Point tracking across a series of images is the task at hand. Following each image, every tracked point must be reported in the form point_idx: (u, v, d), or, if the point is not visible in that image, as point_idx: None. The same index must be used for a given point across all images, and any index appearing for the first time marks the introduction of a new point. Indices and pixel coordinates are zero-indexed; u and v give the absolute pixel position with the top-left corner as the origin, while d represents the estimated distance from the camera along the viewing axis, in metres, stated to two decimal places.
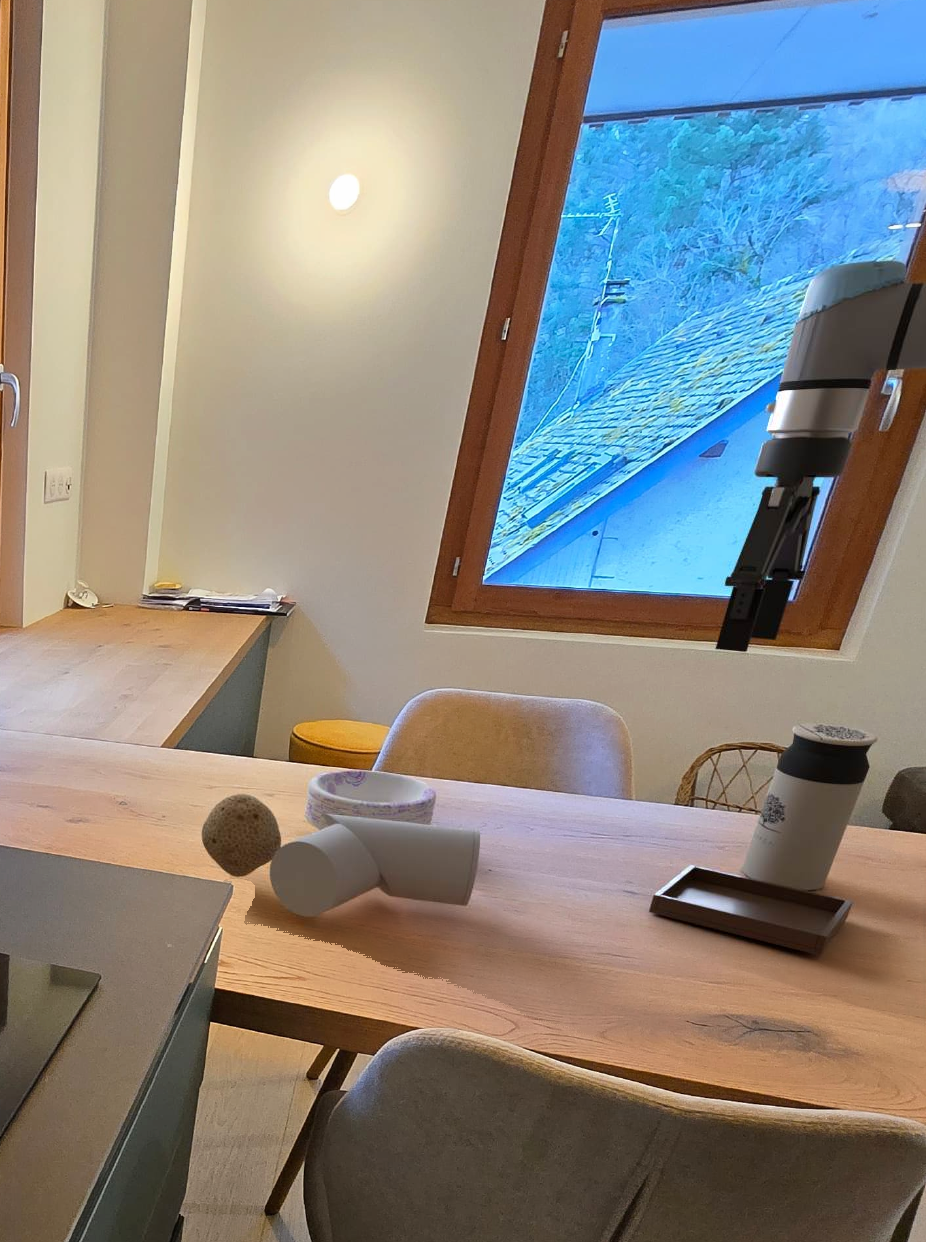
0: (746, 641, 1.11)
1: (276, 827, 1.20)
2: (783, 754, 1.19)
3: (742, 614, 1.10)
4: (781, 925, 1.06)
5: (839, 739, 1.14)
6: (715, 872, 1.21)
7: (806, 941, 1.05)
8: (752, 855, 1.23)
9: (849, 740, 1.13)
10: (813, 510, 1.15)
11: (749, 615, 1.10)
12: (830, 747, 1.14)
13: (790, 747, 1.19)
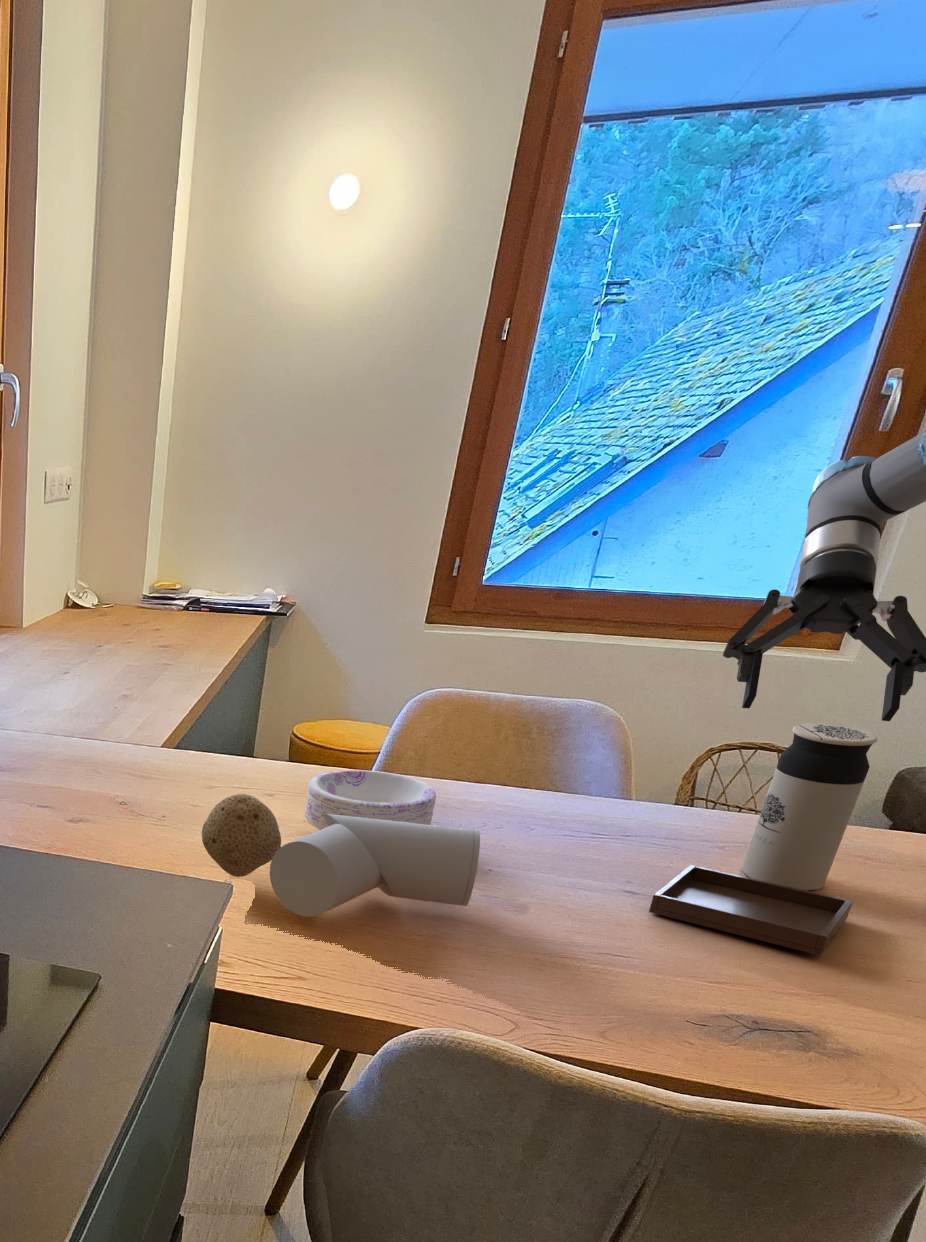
0: (749, 688, 1.28)
1: (276, 827, 1.20)
2: (783, 754, 1.19)
3: (739, 673, 1.30)
4: (781, 925, 1.06)
5: (839, 739, 1.14)
6: (715, 872, 1.21)
7: (806, 941, 1.05)
8: (752, 855, 1.23)
9: (849, 740, 1.13)
10: (908, 612, 1.25)
11: (751, 672, 1.29)
12: (830, 747, 1.14)
13: (790, 747, 1.19)
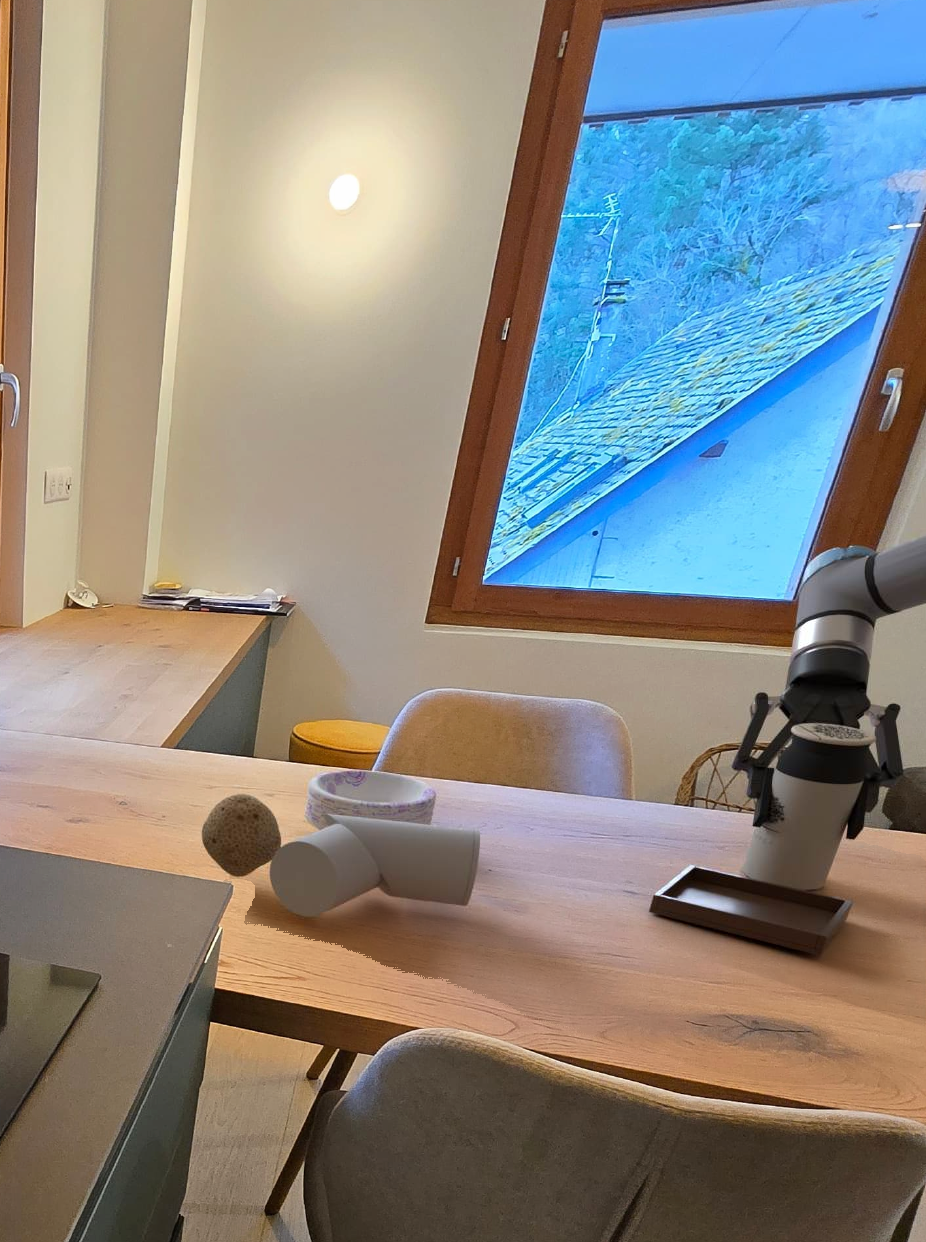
0: (760, 807, 1.20)
1: (276, 827, 1.20)
2: (782, 754, 1.19)
3: (749, 789, 1.22)
4: (781, 925, 1.06)
5: (838, 739, 1.14)
6: (715, 872, 1.21)
7: (806, 941, 1.05)
8: (752, 855, 1.23)
9: (848, 740, 1.13)
10: (895, 722, 1.19)
11: (761, 789, 1.21)
12: (829, 747, 1.14)
13: (789, 747, 1.19)
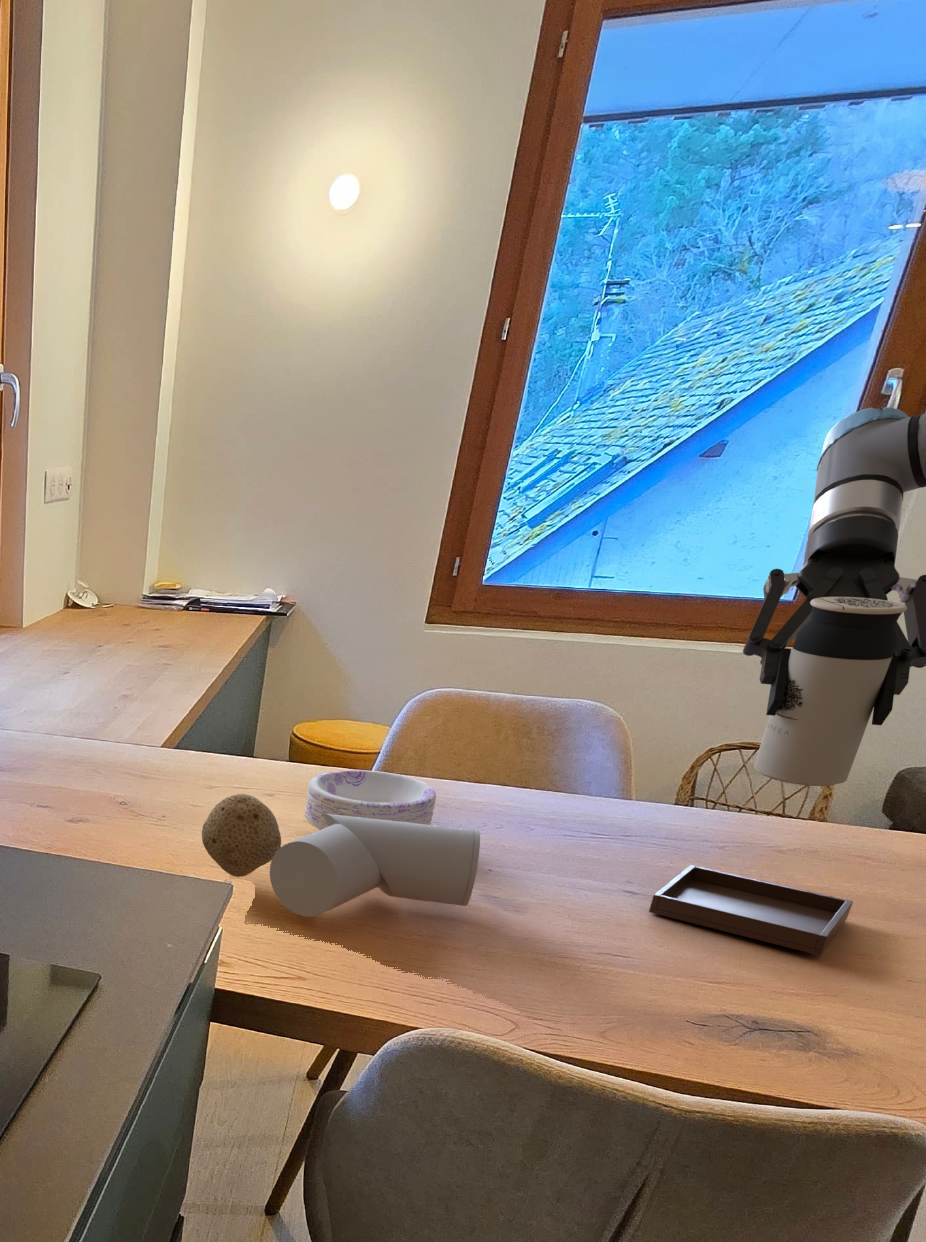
0: (775, 691, 1.07)
1: (276, 827, 1.20)
2: (800, 631, 1.06)
3: (762, 673, 1.09)
4: (781, 925, 1.06)
5: (864, 607, 1.01)
6: (715, 872, 1.21)
7: (806, 941, 1.05)
8: (765, 748, 1.10)
9: (875, 608, 1.00)
10: None
11: (777, 673, 1.08)
12: (853, 617, 1.01)
13: (808, 623, 1.06)
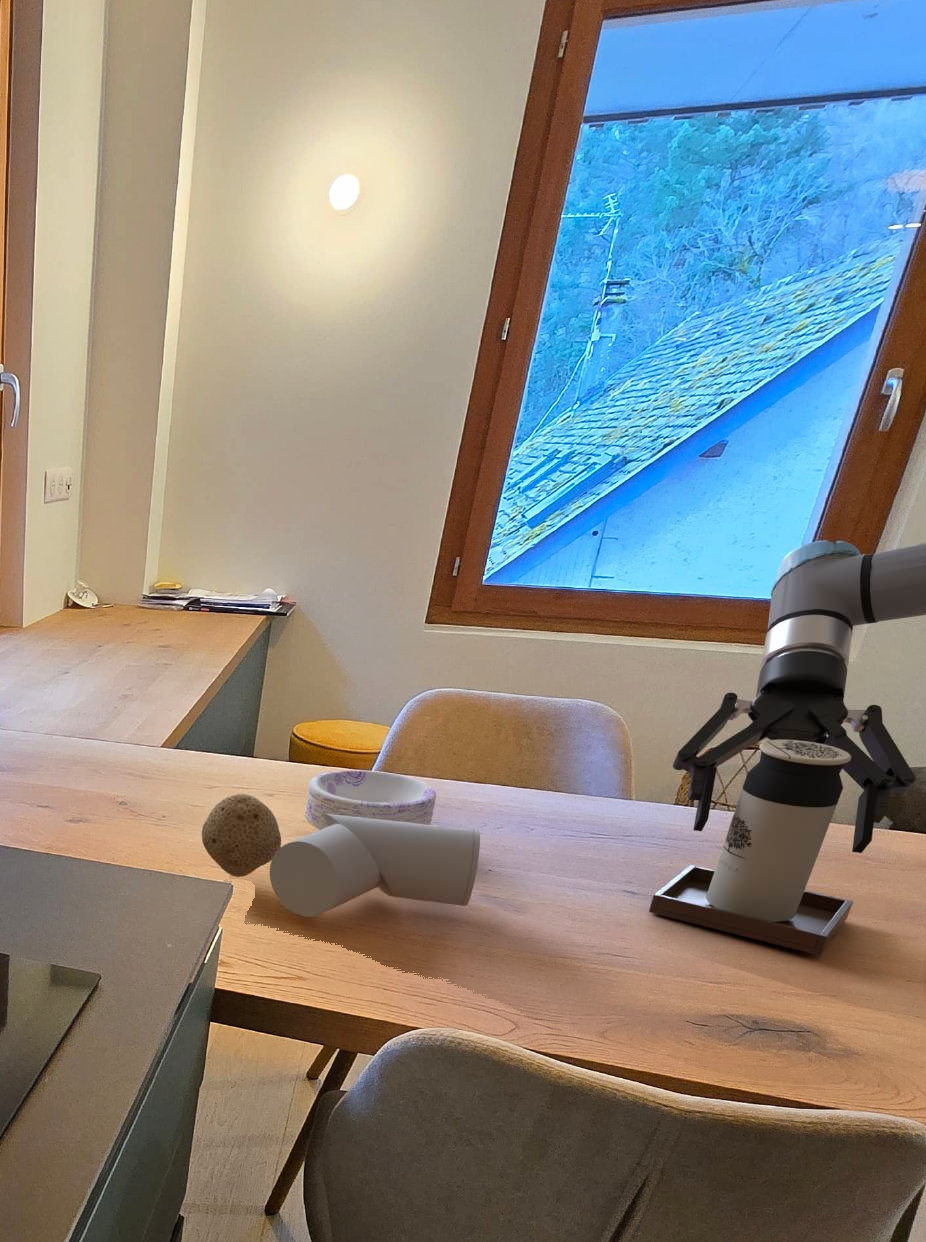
0: (700, 809, 1.11)
1: (276, 827, 1.20)
2: (749, 773, 1.09)
3: (690, 790, 1.13)
4: (781, 925, 1.06)
5: (809, 758, 1.03)
6: None
7: (806, 941, 1.05)
8: (717, 882, 1.13)
9: (820, 759, 1.03)
10: (882, 725, 1.08)
11: (703, 790, 1.12)
12: (799, 766, 1.04)
13: (757, 766, 1.08)
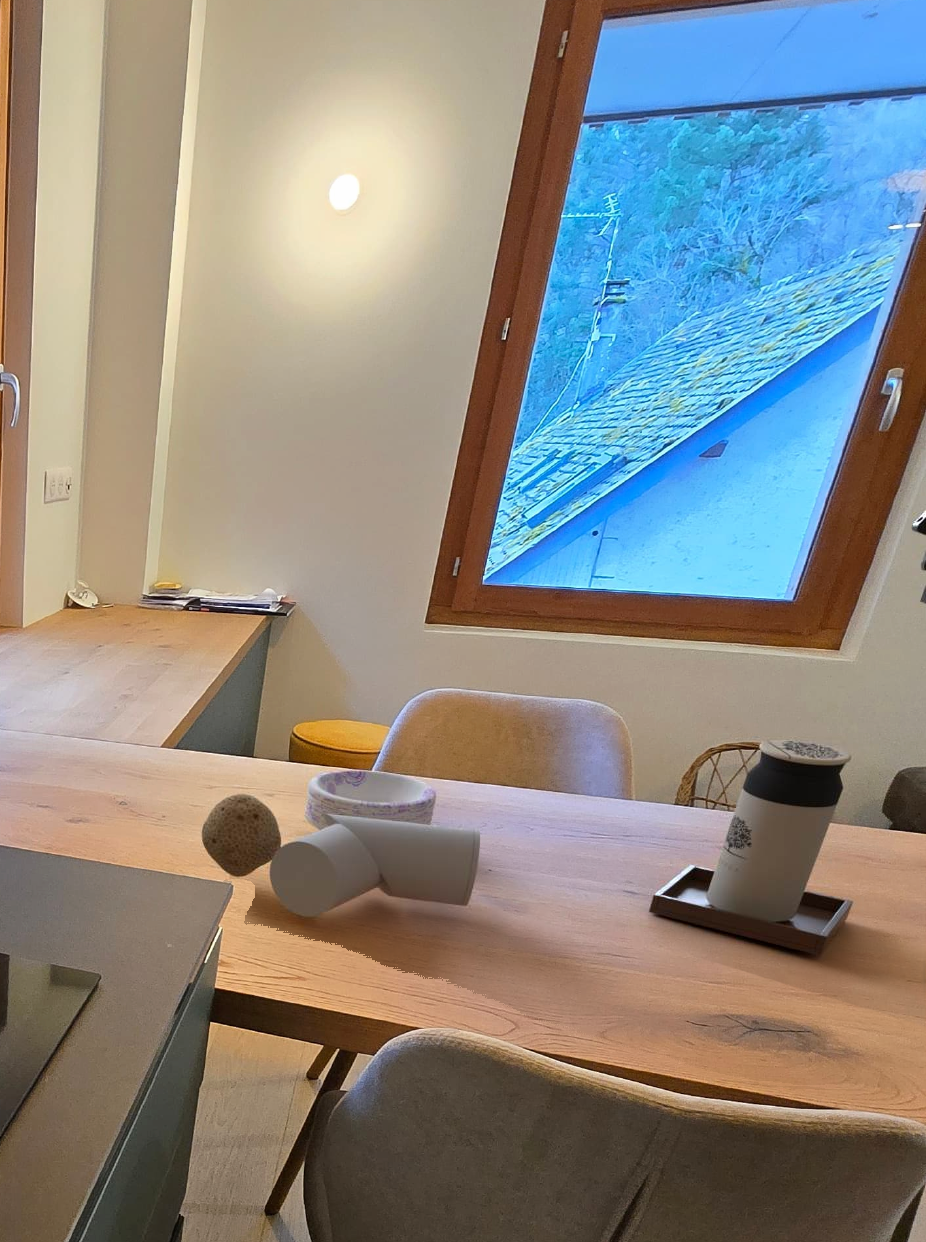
0: None
1: (276, 827, 1.20)
2: (749, 773, 1.09)
3: (923, 565, 1.13)
4: (781, 925, 1.06)
5: (809, 758, 1.03)
6: None
7: (806, 941, 1.05)
8: (717, 882, 1.13)
9: (820, 759, 1.03)
10: None
11: None
12: (799, 766, 1.04)
13: (757, 766, 1.08)
